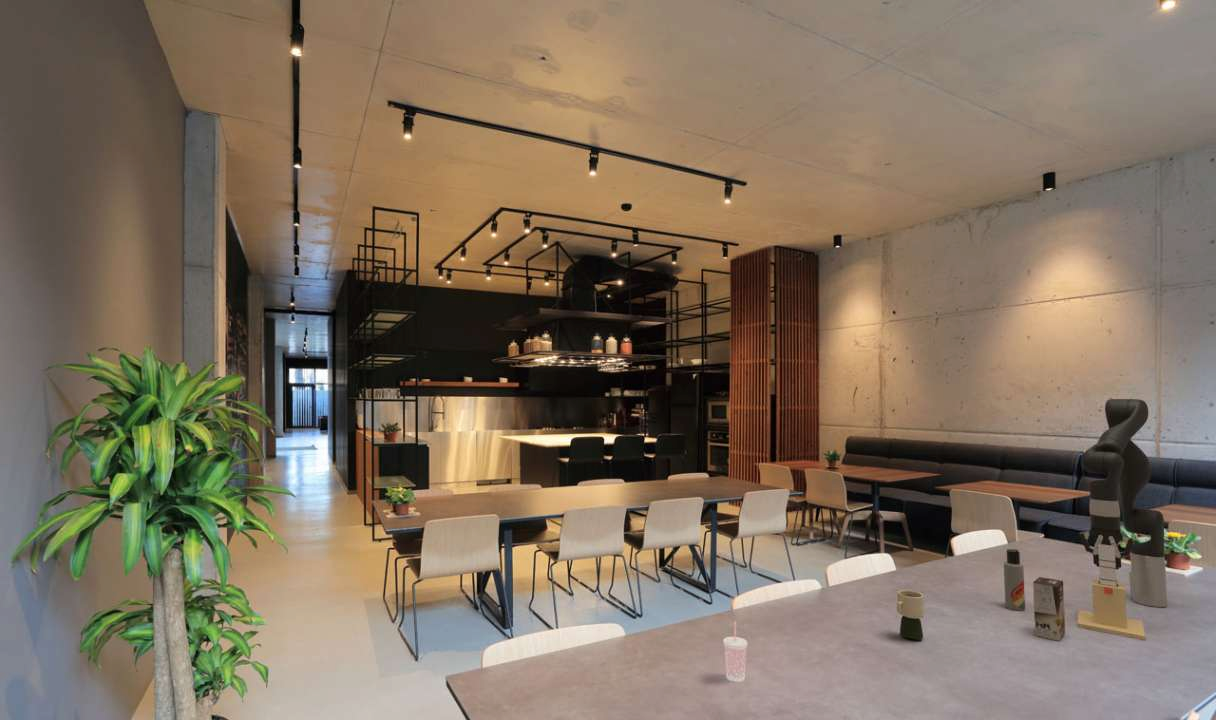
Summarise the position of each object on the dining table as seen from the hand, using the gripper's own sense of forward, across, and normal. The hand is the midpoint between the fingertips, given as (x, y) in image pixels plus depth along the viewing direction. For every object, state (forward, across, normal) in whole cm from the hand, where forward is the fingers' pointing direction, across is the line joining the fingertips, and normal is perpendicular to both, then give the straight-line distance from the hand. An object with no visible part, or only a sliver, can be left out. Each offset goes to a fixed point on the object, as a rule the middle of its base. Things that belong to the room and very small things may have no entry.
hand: (1107, 567), depth 191 cm
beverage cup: (+18, +74, +112) cm, 135 cm away
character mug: (+18, +46, +53) cm, 73 cm away
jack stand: (+18, 0, 0) cm, 18 cm away
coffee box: (+19, +14, +22) cm, 32 cm away
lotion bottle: (+19, +25, 0) cm, 31 cm away
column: (+13, 0, 0) cm, 13 cm away
